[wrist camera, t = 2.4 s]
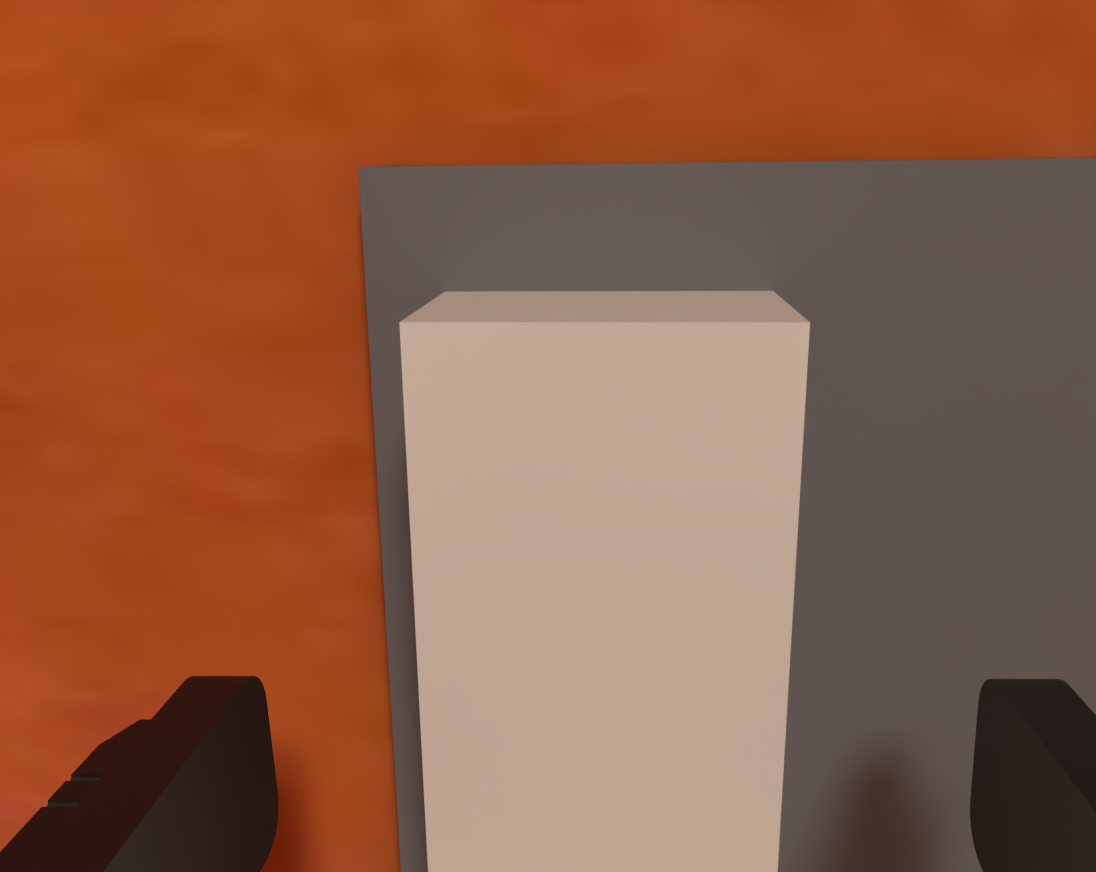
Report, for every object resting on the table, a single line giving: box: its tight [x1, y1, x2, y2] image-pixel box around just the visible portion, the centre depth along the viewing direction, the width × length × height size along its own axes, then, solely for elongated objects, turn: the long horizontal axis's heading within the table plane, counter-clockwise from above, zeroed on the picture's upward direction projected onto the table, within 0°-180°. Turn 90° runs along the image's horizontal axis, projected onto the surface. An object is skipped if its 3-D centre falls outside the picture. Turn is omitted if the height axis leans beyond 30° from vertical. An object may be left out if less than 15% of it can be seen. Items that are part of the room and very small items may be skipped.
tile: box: [399, 291, 810, 872], centre depth 12 cm, size 8×4×2 cm, turn 1°
